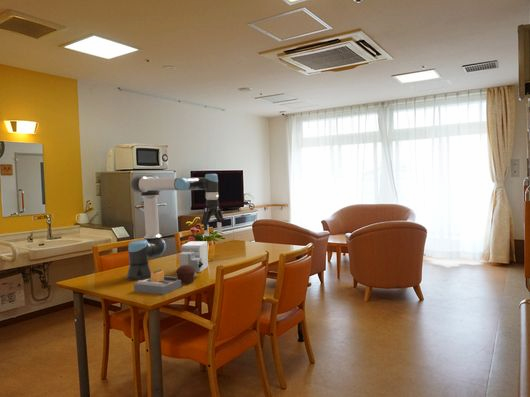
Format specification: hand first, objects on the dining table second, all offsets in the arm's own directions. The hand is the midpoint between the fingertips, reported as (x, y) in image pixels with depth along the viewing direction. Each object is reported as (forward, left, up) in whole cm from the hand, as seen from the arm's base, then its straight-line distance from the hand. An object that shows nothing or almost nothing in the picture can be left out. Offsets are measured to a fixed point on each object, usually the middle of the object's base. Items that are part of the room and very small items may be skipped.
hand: (213, 234), depth 245 cm
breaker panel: (-18, -30, -28) cm, 45 cm away
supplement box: (-27, +19, -28) cm, 43 cm away
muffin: (-12, -12, -28) cm, 33 cm away
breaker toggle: (-18, -30, -23) cm, 42 cm away
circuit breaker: (-17, +1, -28) cm, 33 cm away
